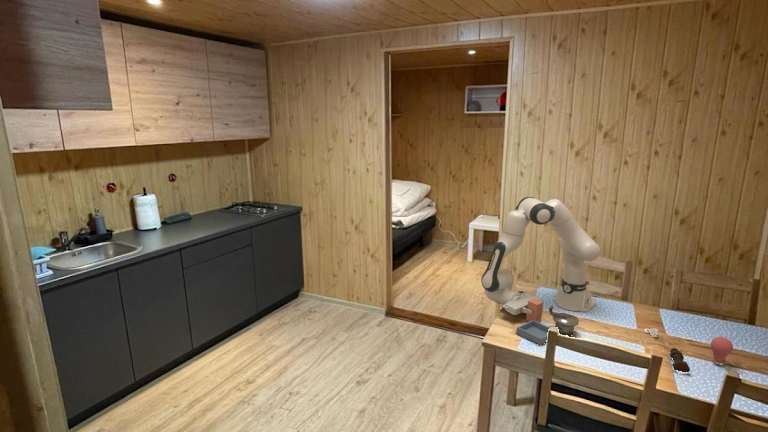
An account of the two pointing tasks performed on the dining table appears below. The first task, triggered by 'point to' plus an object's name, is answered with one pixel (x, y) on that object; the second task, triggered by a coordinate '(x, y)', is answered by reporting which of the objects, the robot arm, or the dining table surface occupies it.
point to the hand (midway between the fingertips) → (536, 310)
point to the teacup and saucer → (652, 331)
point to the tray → (533, 332)
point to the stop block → (535, 310)
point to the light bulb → (721, 348)
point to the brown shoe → (678, 361)
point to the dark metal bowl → (564, 322)
